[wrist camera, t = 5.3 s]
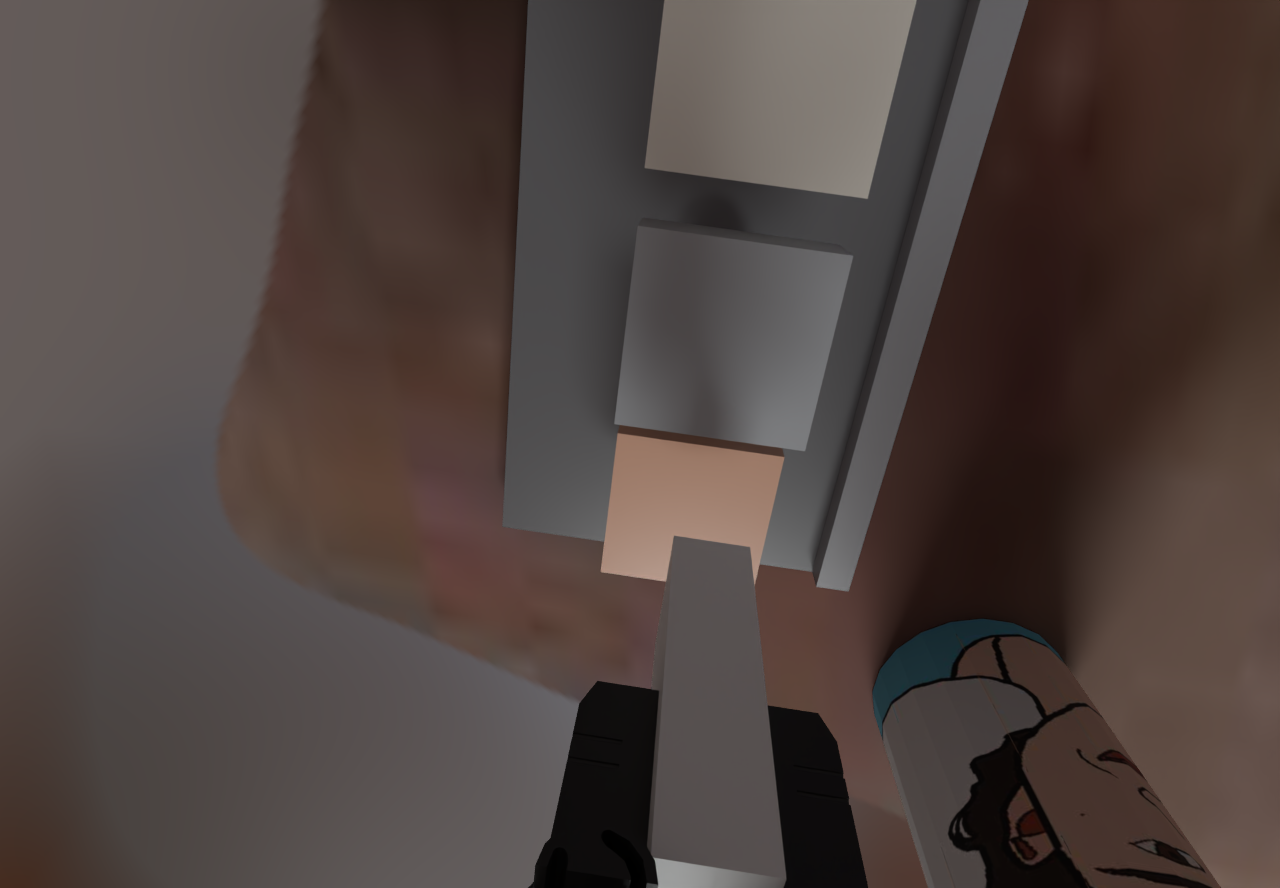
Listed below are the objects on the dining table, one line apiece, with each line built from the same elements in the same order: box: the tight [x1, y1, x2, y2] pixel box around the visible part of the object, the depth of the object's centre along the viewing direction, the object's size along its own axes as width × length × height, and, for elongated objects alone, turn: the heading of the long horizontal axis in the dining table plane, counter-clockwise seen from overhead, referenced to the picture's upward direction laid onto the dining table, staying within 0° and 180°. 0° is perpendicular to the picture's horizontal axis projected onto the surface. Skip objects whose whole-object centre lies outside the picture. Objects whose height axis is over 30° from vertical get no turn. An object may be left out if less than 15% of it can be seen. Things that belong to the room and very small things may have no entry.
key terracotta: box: [601, 425, 785, 585], centre depth 18 cm, size 4×4×1 cm
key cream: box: [645, 0, 917, 199], centre depth 12 cm, size 4×4×1 cm
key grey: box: [614, 217, 853, 451], centre depth 14 cm, size 4×4×1 cm
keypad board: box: [503, 0, 1029, 591], centre depth 19 cm, size 17×11×2 cm, turn 173°
